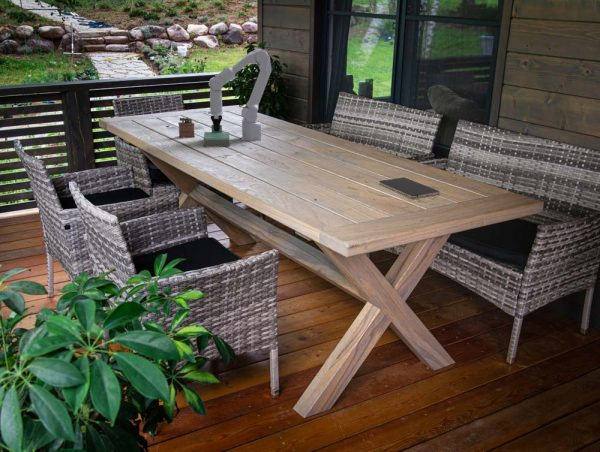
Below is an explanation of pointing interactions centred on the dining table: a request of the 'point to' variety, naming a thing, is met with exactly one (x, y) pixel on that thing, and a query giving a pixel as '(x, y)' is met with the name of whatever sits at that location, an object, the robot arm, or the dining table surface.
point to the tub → (216, 143)
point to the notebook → (408, 187)
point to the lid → (216, 134)
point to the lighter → (186, 128)
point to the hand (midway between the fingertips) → (216, 130)
